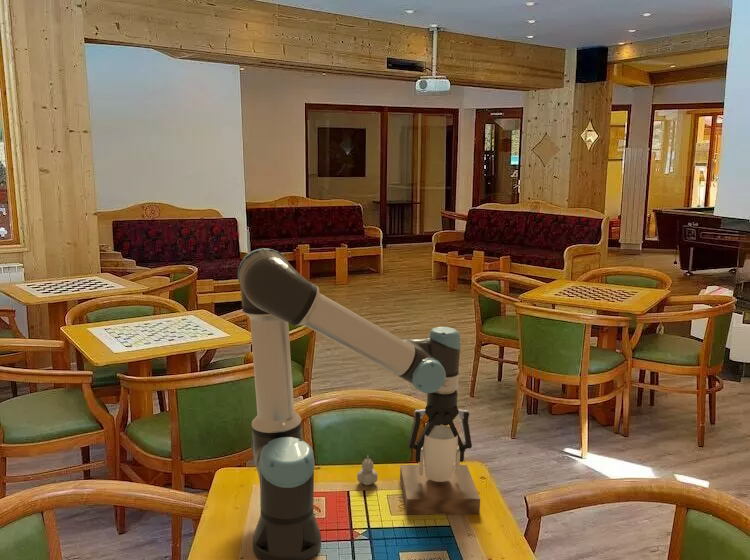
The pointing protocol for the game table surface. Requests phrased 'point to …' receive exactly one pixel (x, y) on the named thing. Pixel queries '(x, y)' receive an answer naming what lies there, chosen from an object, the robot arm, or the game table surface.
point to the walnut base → (439, 492)
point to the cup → (440, 453)
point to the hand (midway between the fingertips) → (438, 472)
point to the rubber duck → (367, 473)
